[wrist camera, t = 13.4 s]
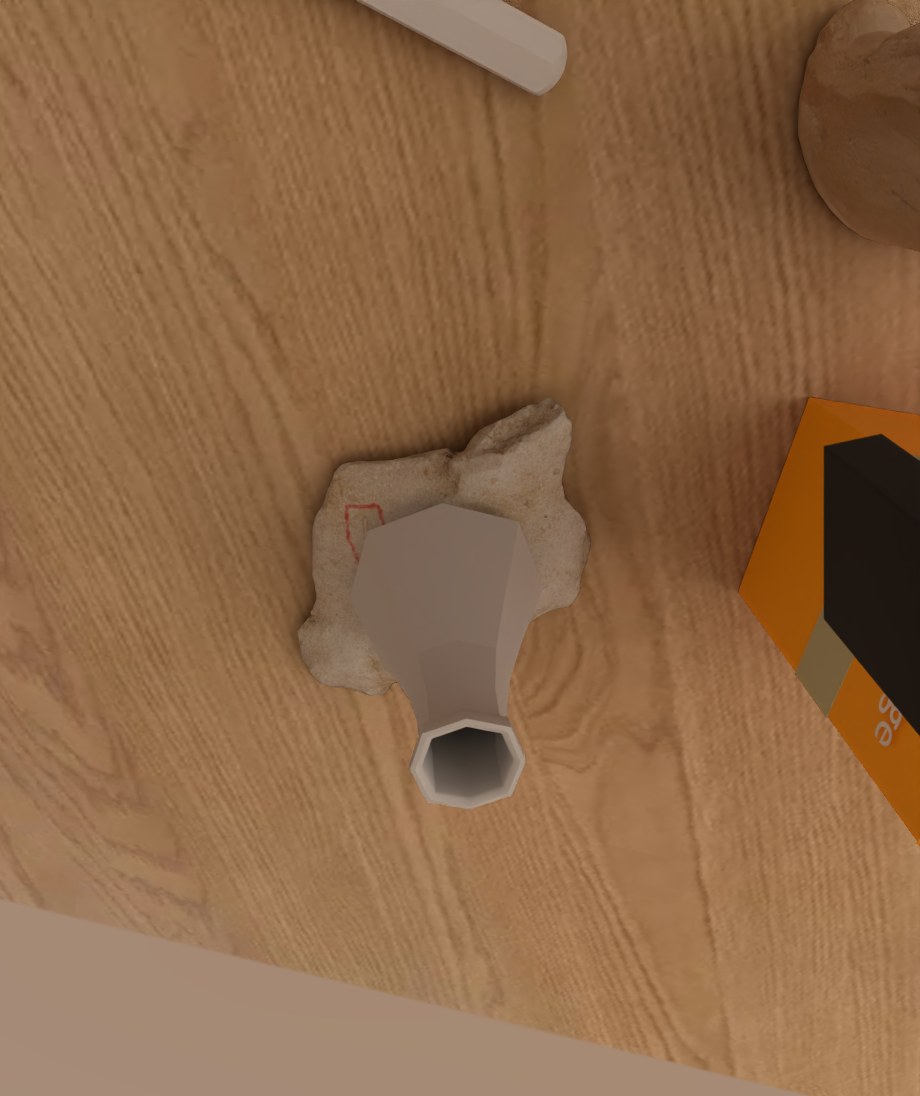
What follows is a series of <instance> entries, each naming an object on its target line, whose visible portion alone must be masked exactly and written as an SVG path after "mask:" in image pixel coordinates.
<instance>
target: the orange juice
mask: <svg viewBox="0 0 920 1096" xmlns="http://www.w3.org/2000/svg"><path fill="white" fill-rule="evenodd" d="M878 434H883V435H884V436H886V437H887V438H889V439H890V440H891V441H893V442H894V443H896V444H897V445H898V446H900V447H901V448H903V449H904V450H905V451H907V452H908V453H910V454H911V455H913V456H914V457H915V458H917V459H918V460H920V415H916V414H910V413H904V412H898V411H892V410H885V409H879V408H873V407H867V406H861V405H855V404H849V403H843V402H837V401H830V400H824V399H818V398H812V397H809V399H808V402H807V404H806V407H805V410H804V413H803V415H802V418H801V421H800V424H799V426H798V429H797V432H796V435H795V437H794V440H793V443H792V445H791V448H790V451H789V454H788V456H787V459H786V462H785V465H784V467H783V470H782V473H781V476H780V478H779V481H778V484H777V487H776V489H775V492H774V495H773V497H772V500H771V503H770V506H769V508H768V511H767V514H766V517H765V519H764V522H763V525H762V528H761V530H760V533H759V536H758V539H757V541H756V544H755V547H754V549H753V552H752V555H751V558H750V560H749V563H748V566H747V569H746V571H745V574H744V577H743V580H742V582H741V585H740V588H739V591H738V592H739V594H740V595H741V597H742V598H743V599H744V601H745V602H746V604H747V605H748V606H749V608H750V609H751V611H752V612H753V613H754V615H755V616H756V618H757V619H758V620H759V622H760V623H761V625H762V626H763V627H764V629H765V630H766V631H767V633H768V634H769V636H770V637H771V638H772V640H773V641H774V643H775V644H776V645H777V647H778V648H779V650H780V651H781V652H782V654H783V655H784V657H785V658H786V659H787V661H788V662H789V664H790V665H791V666H792V668H793V669H794V670H795V675H796V676H797V677H798V679H799V680H800V682H801V683H802V684H803V686H804V687H805V689H806V690H807V691H808V693H809V694H810V696H811V697H812V698H813V700H814V701H815V703H816V704H817V705H818V707H819V708H820V710H821V711H822V712H823V714H824V715H825V717H828V718H829V719H830V721H831V722H832V723H833V725H834V726H835V728H836V729H837V730H838V732H839V733H840V735H841V736H842V737H843V739H844V740H845V742H846V743H847V744H848V746H849V747H850V748H851V750H852V751H853V753H854V754H855V755H856V757H857V758H858V760H859V761H860V762H861V764H862V765H863V767H864V768H865V769H866V771H867V772H868V774H869V775H870V776H871V778H872V779H873V781H874V782H875V783H876V785H877V786H878V787H879V789H880V790H881V792H882V793H883V794H884V796H885V797H886V799H887V800H888V801H889V803H890V804H891V806H892V807H893V808H894V810H895V811H896V813H897V814H898V815H899V817H900V818H901V820H902V821H903V822H904V824H905V825H906V826H907V828H908V829H909V831H910V832H911V833H912V835H913V836H914V838H915V839H916V840H917V844H918V845H919V846H920V736H919V735H918V734H917V732H916V731H915V730H914V729H913V728H912V726H911V725H910V724H909V723H908V721H907V720H906V719H905V718H904V717H903V715H902V714H901V713H900V712H899V710H898V709H897V708H896V707H895V706H894V704H893V703H892V702H891V701H890V699H889V698H888V697H887V696H886V695H885V693H884V692H883V691H882V690H881V688H880V687H879V686H878V685H877V684H876V682H875V681H874V680H873V679H872V677H871V676H870V675H869V674H868V673H867V671H866V670H865V669H864V668H863V666H862V665H861V664H860V663H859V662H858V660H857V659H856V658H855V657H854V655H853V654H852V653H851V652H850V650H849V649H848V648H847V647H846V646H845V644H844V643H843V642H842V641H841V639H840V638H839V637H838V636H837V635H836V633H835V632H834V631H833V630H832V628H831V627H830V626H829V625H828V624H827V622H826V621H825V620H824V446H826V445H831V444H836V443H840V442H845V441H850V440H854V439H859V438H864V437H868V436H873V435H878Z"/></svg>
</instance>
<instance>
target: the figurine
mask: <svg viewBox="0 0 920 1096" xmlns="http://www.w3.org/2000/svg"><path fill="white" fill-rule="evenodd" d="M798 137H799V141H800V145H801V149H802V153H803V157H804V160H805V163H806V166H807V168H808V171H809V174H810V177H811V179H812V182H813V184H814V186H815V188H816V190H817V192H818V194H820V195H821V197H822V198H823V200H824V201H825V203H826V204H827V206H828V207H829V209H830V210H831V211H832V212H833V213H834V214H835V215H836V216H837V217H838V218H839V219H840V220H841V221H842V222H843V223H844V224H845V225H846V226H847V227H848V228H850V229H851V230H853V231H854V232H856V233H857V234H859V235H860V236H862V237H863V238H866V239H869V240H873V241H877V242H880V243H884V244H888V245H892V246H898V247H903V248H907V249H911V250H915V251H918V252H920V23H918V24H915V25H913V26H911V25H910V23H909V20H908V18H907V17H906V16H905V15H904V14H903V13H902V12H901V11H900V10H899V9H898V8H897V7H895V6H893V5H891V4H889V3H887V2H886V1H885V0H853V1H851V2H850V3H849V4H847V5H846V6H844V7H843V8H842V9H840V10H839V11H837V12H836V13H835V14H834V16H833V17H832V18H831V19H830V21H829V22H828V23H827V24H826V26H825V27H824V28H823V29H822V31H821V32H820V35H819V38H818V40H817V43H816V46H815V49H814V51H813V52H812V54H811V55H810V56H809V58H808V61H807V66H806V71H805V76H804V81H803V85H802V89H801V94H800V98H799V109H798Z"/></svg>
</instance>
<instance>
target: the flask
mask: <svg viewBox="0 0 920 1096" xmlns="http://www.w3.org/2000/svg"><path fill="white" fill-rule="evenodd" d="M542 586H543V585H542V582H541V580H540V577H539V574H538V572H537V569H536V566H535V564H534V561H533V558H532V556H531V553H530V550H529V548H528V545H527V542H526V540H525V537H524V534H523V532H522V529H521V526H520V524H519V522H518V521H514V520H510V519H506V518H502V517H498V516H494V515H489V514H485V513H481V512H477V511H473V510H469V509H465V508H461V507H456V506H452V505H448V504H444V503H442V504H439V505H436V506H433V507H431V508H428V509H425V510H423V511H420V512H417V513H415V514H412V515H409V516H407V517H404V518H401V519H398V520H396V521H393V522H390V523H388V524H385V525H382V526H380V527H377V528H374V529H371V530H369V531H368V532H367V536H366V539H365V543H364V547H363V550H362V554H361V557H360V561H359V565H358V568H357V572H356V576H355V579H354V583H353V586H352V590H351V594H350V597H349V599H350V601H351V603H352V605H353V607H354V609H355V611H356V613H357V615H358V617H359V619H360V621H361V623H362V625H363V627H364V629H365V631H366V633H367V635H368V637H369V639H370V641H371V643H372V645H373V647H374V649H375V651H376V653H377V655H378V657H379V658H380V660H381V661H382V663H383V664H384V666H385V667H386V669H387V670H388V671H389V672H390V674H391V675H392V676H393V678H394V679H395V680H396V681H397V683H398V684H399V685H400V687H401V688H402V689H403V691H404V693H405V694H406V696H407V697H408V699H409V700H410V702H411V704H412V707H413V710H414V713H415V716H416V719H417V723H418V736H419V737H418V739H417V742H416V745H415V748H414V751H413V754H412V757H411V760H410V764H409V766H410V771H411V773H412V775H413V777H414V779H415V780H416V782H417V784H418V786H419V788H420V790H421V792H422V794H423V796H424V798H425V800H426V802H430V803H436V804H442V805H447V806H453V807H459V808H465V809H472V808H475V807H478V806H481V805H484V804H487V803H490V802H493V801H496V800H499V799H502V798H505V797H508V796H511V795H512V793H513V791H514V788H515V786H516V783H517V781H518V778H519V776H520V774H521V771H522V769H523V766H524V764H525V761H526V760H525V755H524V752H523V750H522V748H521V745H520V743H519V741H518V738H517V736H516V734H515V731H514V729H513V727H512V725H511V722H510V721H509V719H508V718H507V708H508V695H509V682H510V678H511V674H512V671H513V668H514V665H515V662H516V659H517V656H518V653H519V650H520V647H521V644H522V641H523V638H524V635H525V633H526V630H527V627H528V625H529V622H530V620H531V617H532V614H533V612H534V609H535V606H536V604H537V601H538V599H539V596H540V593H541V589H542Z"/></svg>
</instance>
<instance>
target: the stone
mask: <svg viewBox="0 0 920 1096" xmlns="http://www.w3.org/2000/svg"><path fill="white" fill-rule="evenodd" d="M571 435H572V423H571V420H570V418H569V417H568V416H567V414H566V413H565V411H564V410H563V408H562V407H561V406H560V405H559V404H558V403H557V402H555V401H553V400H552V399H550V398H549V399H546V400H543V401H541V402H540V403H538V404H537V405H535V404H533V405H528V406H525V407H523V408H522V409H521V410H519V411H517V412H515V413H513V414H511V415H510V416H508V417H507V418H504V419H501V420H499V421H497V422H495V423H493V424H490V425H487V426H485V427H484V428H482V429H480V430H479V431H478V432H477V433H476V434H475V436H474V437H473V438H472V440H471V441H470V442H469V443H468V445H467V447H466V449H465V450H464V451H461V452H451V450H450V449H447V448H445V449H439V450H432V451H428V452H425V453H422V454H416V455H411V456H407V457H403V458H398V459H394V460H385V461H354V462H349V463H345V464H342V465H341V466H340V467H339V468H338V469H337V470H336V471H335V473H334V475H333V478H332V481H331V484H330V486H329V488H328V490H327V493H326V497H325V500H324V503H323V505H322V507H321V508H320V509H319V511H318V512H317V515H316V517H315V521H314V525H313V529H312V545H313V556H312V559H313V567H312V576H313V579H314V583H315V591H316V597H317V599H316V602H315V605H314V608H313V609H312V611H311V612H310V613H311V616H310V617H309V618H308V619H307V620H306V621H305V623H304V624H303V625H302V626H301V627H300V628H299V629H298V632H297V635H298V639H299V642H300V649H301V657H302V659H303V660H304V661H305V662H306V664H307V665H308V669H309V672H310V673H311V674H312V675H313V676H314V677H315V678H316V679H317V680H318V682H319V683H323V684H324V685H325V686H330V687H343V688H349V689H352V690H355V691H359V692H362V693H364V694H367V695H373V696H374V695H382V694H384V693H385V692H386V691H387V690H388V689H389V688H390V686H391V685H392V684H393V683H397V681H396V680H395V679H394V678H393V676H392V675H391V674H390V672H389V671H388V670H387V669H386V667H385V666H384V664H383V663H382V661H381V660H380V658H379V657H378V655H377V653H376V651H375V649H374V647H373V645H372V643H371V641H370V639H369V637H368V635H367V633H366V631H365V629H364V627H363V625H362V623H361V621H360V619H359V617H358V615H357V613H356V611H355V609H354V607H353V605H352V603H351V601H350V599H349V597H350V594H351V590H352V586H353V583H354V579H355V576H356V572H357V568H358V565H359V561H360V557H361V554H362V550H363V547H364V543H365V539H366V536H367V532H368V531H369V530H371V529H374V528H377V527H380V526H382V525H385V524H388V523H390V522H393V521H396V520H398V519H401V518H404V517H407V516H409V515H412V514H415V513H417V512H420V511H423V510H425V509H428V508H431V507H433V506H436V505H439V504H442V503H444V504H448V505H452V506H456V507H461V508H465V509H469V510H473V511H477V512H481V513H485V514H489V515H494V516H498V517H502V518H506V519H510V520H514V521H518V522H519V524H520V526H521V529H522V532H523V534H524V537H525V540H526V542H527V545H528V548H529V550H530V553H531V556H532V558H533V561H534V564H535V566H536V569H537V572H538V574H539V577H540V580H541V582H542V585H543V586H542V589H541V593H540V596H539V599H538V601H537V604H536V606H535V609H534V612H533V614H532V617H531V620H530V622H529V624H530V623H531V622H532V621H533V620H534V619H535V618H537V617H539V616H541V615H542V614H544V613H546V612H548V611H550V610H555V609H560V608H565V607H567V606H569V605H570V604H572V603H573V602H574V600H575V599H576V597H577V594H578V592H579V590H580V582H581V576H582V573H583V570H584V567H585V564H586V561H587V555H588V552H589V548H590V545H591V539H590V536H589V534H588V533H587V532H586V526H585V522H584V521H583V519H582V517H581V515H580V514H579V513H578V512H577V511H575V510H574V508H573V507H572V506H571V504H570V503H569V502H568V500H567V499H566V497H565V495H564V489H563V485H562V476H563V472H564V466H565V461H566V457H567V453H568V451H569V449H570V443H571Z"/></svg>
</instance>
